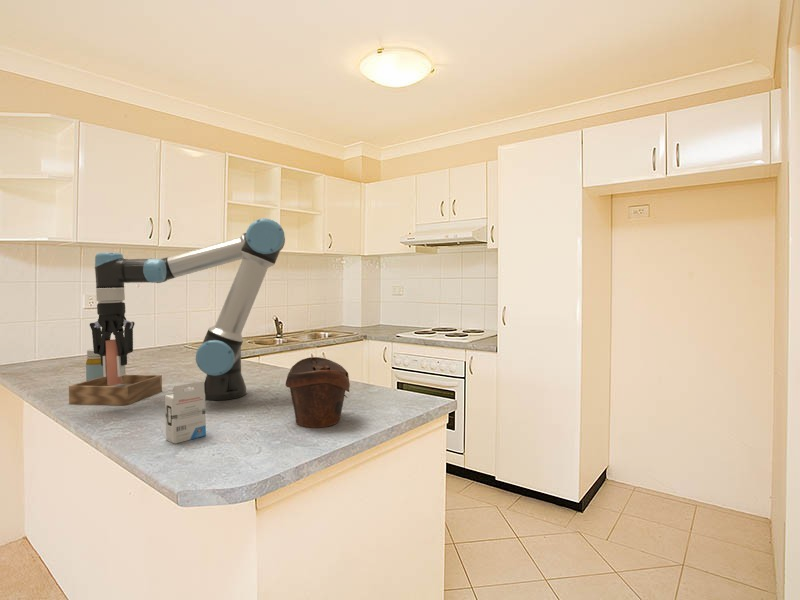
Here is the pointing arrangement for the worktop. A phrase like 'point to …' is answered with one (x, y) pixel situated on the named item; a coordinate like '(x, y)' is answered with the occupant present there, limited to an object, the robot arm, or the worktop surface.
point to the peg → (112, 363)
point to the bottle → (93, 365)
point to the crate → (115, 390)
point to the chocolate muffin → (317, 391)
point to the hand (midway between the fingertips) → (114, 375)
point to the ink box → (185, 413)
